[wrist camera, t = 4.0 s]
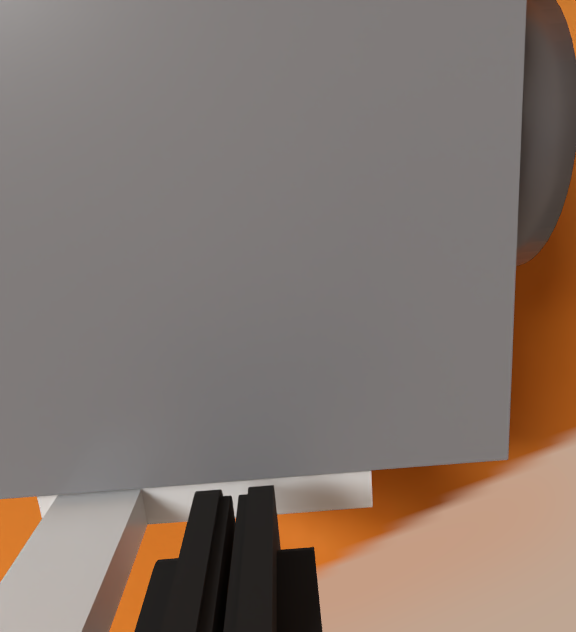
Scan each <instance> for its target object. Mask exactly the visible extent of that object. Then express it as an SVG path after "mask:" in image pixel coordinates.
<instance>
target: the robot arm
mask: <svg viewBox="0 0 576 632" xmlns="http://www.w3.org/2000/svg"><path fill="white" fill-rule="evenodd" d="M135 632H322V624H321V614H320V604H319V593H318V583H317V573H316V563H315V553H314V547H310V548H298V549H286V550H280V540H279V530H278V520H277V510H276V499H275V490H274V485H268V486H255V487H249V488H248V494H244V495H239V497H238V505H237V514H236V523H235V516H234V508H233V500H232V496H223V493H222V490H221V489H219V490H206V491H196V492H195V494H194V497H193V501H192V505H191V509H190V513H189V518H188V522H187V526H186V530H185V534H184V538H183V542H182V546H181V550H180V554H179V558H175V559H163V560H158V561H157V562H156V564H155V566H154V569H153V572H152V575H151V579H150V582H149V585H148V589H147V592H146V595H145V599H144V602H143V605H142V609H141V612H140V615H139V619H138V622H137V625H136V629H135Z"/></svg>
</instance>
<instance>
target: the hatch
mask: <svg viewBox="0 0 576 632" xmlns="http://www.w3.org/2000/svg"><path fill="white" fill-rule="evenodd" d="M268 485H274V490H275V499H276V510H277V514H288V513H301V512H314V511H327V510H340V509H353V508H366V507H373V501H372V476H371V470H368V471H356V472H343V473H330V474H317V475H304V476H291V477H278V478H265V479H252V480H239V481H226V482H214V483H201V484H188V485H175V486H162V487H149V488H136V489H123V490H110V491H97V492H84V493H71V494H59V495H46V496H37V499H38V503H39V507H40V511H41V515H42V520H41V522H40V523H39V525H38V526H37V528H36V529H35V531H34V532H33V534H32V535H31V537H30V538H29V540H28V541H27V543H26V544H25V546H24V547H23V549H22V550H21V552H20V553H19V555H18V556H17V558H16V560H15V561H14V563H13V564H12V566H11V567H10V569H9V570H8V572H7V573H6V575H5V576H4V578H3V579H2V581H1V582H0V632H109V630H110V627H111V624H112V622H113V619H114V616H115V613H116V611H117V608H118V605H119V602H120V599H121V597H122V594H123V591H124V588H125V585H126V583H127V580H128V577H129V574H130V572H131V569H132V566H133V563H134V560H135V558H136V555H137V552H138V549H139V547H140V544H141V541H142V538H143V535H144V533H145V530H146V527H147V524H158V523H171V522H184V521H188V518H189V513H190V509H191V505H192V501H193V497H194V494H195V492H196V491H206V490H219V489H221V490H222V493H223V496H232V500H233V508H234V516H235V518H236V514H237V505H238V497H239V495H244V494H248V488H249V487H255V486H268Z"/></svg>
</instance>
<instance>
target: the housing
mask: <svg viewBox="0 0 576 632" xmlns="http://www.w3.org/2000/svg"><path fill="white" fill-rule="evenodd" d="M575 152H576V59H575V53H574V48H573V43H572V38H571V35H570V32H569V28H568V25H567V22H566V19H565V17H564V15H563V12H562V10H561V8H560V6H559V4H558V3H557V1H556V0H0V499H7V498H20V497H33V496H46V495H59V494H71V493H84V492H97V491H110V490H123V489H136V488H149V487H162V486H175V485H188V484H201V483H214V482H226V481H239V480H252V479H265V478H278V477H291V476H304V475H317V474H330V473H343V472H356V471H368V470H381V469H394V468H407V467H420V466H433V465H446V464H459V463H472V462H485V461H498V460H508V451H509V426H510V401H511V377H512V352H513V327H514V302H515V277H516V266H518V265H521V264H524V263H526V262H528V261H529V260H531V259H533V258H534V257H535V256H536V255H537V254H538V253H539V252H540V250H541V249H542V248H543V246H544V245H545V244H546V242H547V241H548V239H549V237H550V235H551V233H552V232H553V230H554V228H555V226H556V223H557V221H558V219H559V216H560V214H561V211H562V208H563V205H564V202H565V199H566V196H567V192H568V188H569V184H570V180H571V175H572V170H573V164H574V158H575Z"/></svg>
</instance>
